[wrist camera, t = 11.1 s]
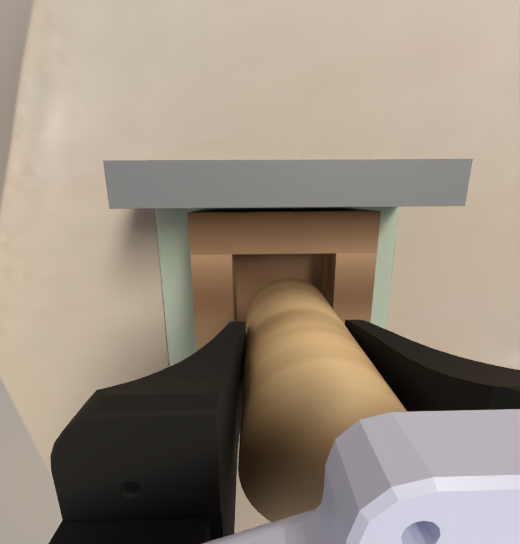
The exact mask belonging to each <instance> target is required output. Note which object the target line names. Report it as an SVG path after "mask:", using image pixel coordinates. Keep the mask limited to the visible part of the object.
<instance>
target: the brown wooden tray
mask: <svg viewBox="0 0 520 544" xmlns="http://www.w3.org/2000/svg"><path fill="white" fill-rule="evenodd" d="M380 216H381V211H374V210H363V209H262V210H198V211H193V212H188V228H189V243H190V258H191V273H192V288H193V303H194V317H195V332H196V347H197V351H198V350H199V349H201V348H202V347H203V346H205V345H206V344H207V343H208V342H209V341H211V340H212V339H213V338H214V337H215V336H216V335H217V334H218V333H219V332H220V331H221V330H222V329H223V328H224V327H225V326H226V325H227V324H228V323H229V322H231V321H246V319H247V310H248V306H249V303H250V301H251V299H252V298H253V296H254V295H255V294H256V292H257V291H258V290H259V289H261V288H262V287H263V286H264V285H266V284H268V283H270V282H272V281H275V280H277V279H282V278H296V279H300V280H304V281H306V282H308V283H310V284H312V285H313V286H315V287H316V288H317V289H318V290H319V291H320V292H321V293H322V295H323V296H324V297H325V299H326V300H327V302H328V303H329V304H330V306H331V307H332V308H333V310H334V311H335V313H336V314H337V315H338V317H339V318H340V319H341V321H342V322H343V324H344V325H345V320H357V319H360V320H364V321H367V322H371V312H372V301H373V290H374V280H375V269H376V259H377V248H378V237H379V227H380Z"/></svg>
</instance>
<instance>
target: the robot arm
mask: <svg viewBox="0 0 520 544" xmlns="http://www.w3.org/2000/svg"><path fill="white" fill-rule="evenodd" d="M345 326H346V328H347V329H348V331H349V332H350V333H351V335H352V336H353V337H354V339H355V340H356V342H357V343H358V344H359V346H360V347H361V348H362V350H363V351H364V353H365V354H366V355H367V357H368V358H369V359H370V361H371V362H372V364H373V365H374V366H375V368H376V369H377V370H378V372H379V373H380V375H381V376H382V377H383V379H384V380H385V381H386V383H387V384H388V386H389V387H390V388H391V390H392V391H393V392H394V394H395V395H396V397H397V398H398V399H399V401H400V402H401V403H402V405H403V406H404V408H405V409H406V410H407V412H389V413H385V414H381V415H377V416H373V417H369V418H365V419H361V420H358V421H357V422H356V423H355V424H354V425H352V426H351V427H350V428H349V429H347V430H346V431H345V432H344V433H342V434H341V435H340V436H339V437H337V438H336V439H335V441H334V443H333V446H332V449H331V451H330V454H329V456H328V459H327V462H326V464H325V478H324V492H323V497H322V501H321V504H320V505H319V506H318V507H317V508H316V509H313V510H310V511H307V512H304V513H300V514H297V515H294V516H291V517H287V518H284V519H281V520H277V521H274V522H271V523H268V524H264V525H261V526H258V527H255V528H251V529H248V530H245V531H242V532H238V533H235V534H234V523H235V498H236V475H237V453H238V441H239V433H240V426H241V410H242V392H243V374H244V356H245V341H246V321H231V322H229V323H228V324H227V325H226V326H225V327H224V328H223V329H222V330H221V331H220V332H219V333H218V334H217V335H216V336H215V337H214V338H213V339H212V340H211V341H209V342H208V343H207V344H206V345H205V346H203V347H202V348H201V349H199V350H198V351H197V352H195V353H194V354H192V355H191V356H189V357H187V358H186V359H184V360H182V361H180V362H178V363H176V364H174V365H172V366H170V367H168V368H166V369H164V370H162V371H159V372H157V373H154V374H152V375H149V376H146V377H143V378H140V379H138V380H134V381H131V382H128V383H124V384H120V385H116V386H112V387H108V388H104V389H100V390H96V392H95V393H94V394H93V395H92V396H91V397H90V398H89V400H88V401H87V402H86V403H85V404H84V405H83V407H82V408H81V409H80V410H79V412H78V413H77V414H76V415H75V416H74V418H73V419H72V420H71V421H70V423H69V424H68V425H67V426H66V428H65V429H64V430H63V431H62V433H61V434H60V436H59V437H58V438H57V440H56V441H55V443H54V446H53V450H52V453H51V471H52V476H53V480H54V484H55V488H56V493H57V497H58V501H59V506H60V510H61V515H62V518H63V521H62V522H61V524H60V526H59V528H58V529H57V531H56V532H55V534H54V536H53V537H52V539H51V541H50V543H49V544H520V370H516V369H510V368H505V367H500V366H495V365H490V364H486V363H482V362H477V361H473V360H469V359H465V358H462V357H458V356H455V355H451V354H448V353H445V352H442V351H438V350H435V349H433V348H430V347H427V346H424V345H422V344H419V343H417V342H414V341H411V340H409V339H407V338H404V337H402V336H399V335H397V334H395V333H393V332H390V331H388V330H386V329H384V328H381V327H379V326H377V325H375V324H372V323H370V322H367V321H364V320H360V319H357V320H345Z"/></svg>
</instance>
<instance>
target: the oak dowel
mask: <svg viewBox="0 0 520 544" xmlns="http://www.w3.org/2000/svg"><path fill="white" fill-rule="evenodd" d="M389 412H407V410H406V409H405V408H404V406H403V405H402V403H401V402H400V401H399V399H398V398H397V397H396V395H395V394H394V392H393V391H392V390H391V388H390V387H389V386H388V384H387V383H386V381H385V380H384V379H383V377H382V376H381V375H380V373H379V372H378V370H377V369H376V368H375V366H374V365H373V364H372V362H371V361H370V359H369V358H368V357H367V355H366V354H365V353H364V351H363V350H362V348H361V347H360V346H359V344H358V343H357V342H356V340H355V339H354V337H353V336H352V335H351V333H350V332H349V331H348V329H347V328H346V326H345V325H344V324H343V322H342V321H341V319H340V318H339V317H338V315H337V314H336V313H335V311H334V310H333V308H332V307H331V306H330V304H329V303H328V302H327V300H326V299H325V297H324V296H323V295H322V293H321V292H320V291H319V290H318V289H317V288H316V287H315V286H313V285H312V284H310V283H308V282H306V281H304V280H300V279H296V278H282V279H277V280H275V281H272V282H270V283H268V284H266V285H264V286H263V287H262V288H261V289H259V290H258V291H257V292H256V294H255V295H254V296H253V298H252V299H251V301H250V303H249V306H248V310H247V319H246V341H245V356H244V374H243V392H242V410H241V428H240V447H239V465H238V470H239V479H240V482H241V486H242V489H243V491H244V493H245V495H246V497H247V499H248V500H249V502H250V503H251V504H252V506H253V507H254V508H255V509H256V510H257V511H258V512H259V513H260V514H261V515H263V516H264V517H265V518H266V519H268V520H269V521H271V522H274V521H277V520H281V519H284V518H287V517H291V516H294V515H297V514H300V513H304V512H307V511H310V510H313V509H316V508H317V507H318V506H319V505H320V504H321V501H322V497H323V492H324V478H325V464H326V462H327V459H328V456H329V454H330V451H331V449H332V446H333V443H334V441H335V439H336V438H337V437H339V436H340V435H341V434H342V433H344V432H345V431H346V430H347V429H349V428H350V427H351V426H352V425H354V424H355V423H356V422H357V421H358V420H361V419H365V418H369V417H373V416H377V415H381V414H385V413H389Z"/></svg>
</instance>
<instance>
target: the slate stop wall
mask: <svg viewBox="0 0 520 544" xmlns="http://www.w3.org/2000/svg"><path fill="white" fill-rule="evenodd" d="M472 160H473V159H387V160H148V161H103V163H104V170H105V178H106V185H107V193H108V201H109V208H110V209H133V208H266V207H398V206H465V202H466V196H467V190H468V184H469V178H470V172H471V166H472Z"/></svg>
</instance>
